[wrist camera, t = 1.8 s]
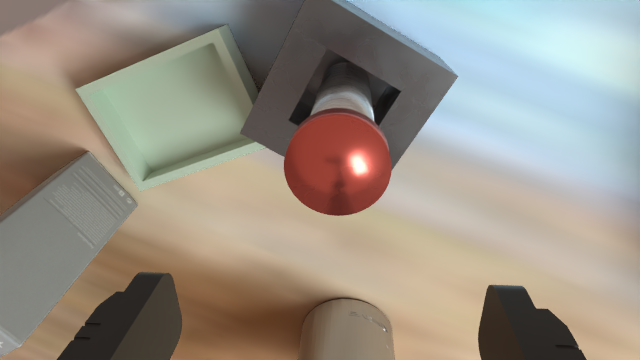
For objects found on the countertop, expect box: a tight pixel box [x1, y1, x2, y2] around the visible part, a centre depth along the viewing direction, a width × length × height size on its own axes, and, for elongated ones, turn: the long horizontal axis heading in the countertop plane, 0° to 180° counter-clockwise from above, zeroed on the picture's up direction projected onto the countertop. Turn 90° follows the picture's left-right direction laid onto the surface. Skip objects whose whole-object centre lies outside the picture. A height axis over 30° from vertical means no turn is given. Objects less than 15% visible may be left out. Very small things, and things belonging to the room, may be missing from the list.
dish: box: [75, 24, 267, 191], centre depth 32 cm, size 12×9×2 cm
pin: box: [284, 62, 391, 216], centre depth 24 cm, size 5×5×14 cm
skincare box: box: [0, 152, 137, 357], centre depth 31 cm, size 8×7×16 cm
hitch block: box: [240, 0, 458, 171], centre depth 29 cm, size 10×10×6 cm
